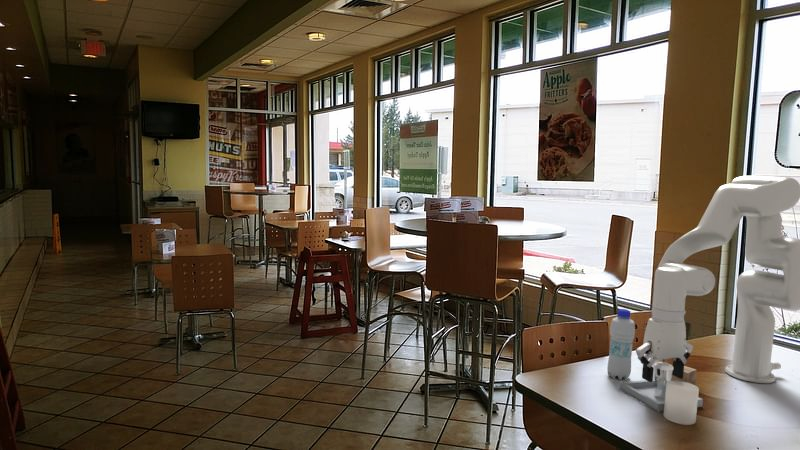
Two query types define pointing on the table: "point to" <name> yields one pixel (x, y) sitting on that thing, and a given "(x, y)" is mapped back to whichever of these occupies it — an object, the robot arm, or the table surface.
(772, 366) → the robot arm
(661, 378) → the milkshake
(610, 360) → the bottle
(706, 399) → the table surface
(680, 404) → the white squat cylinder
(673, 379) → the walnut block
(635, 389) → the tray
